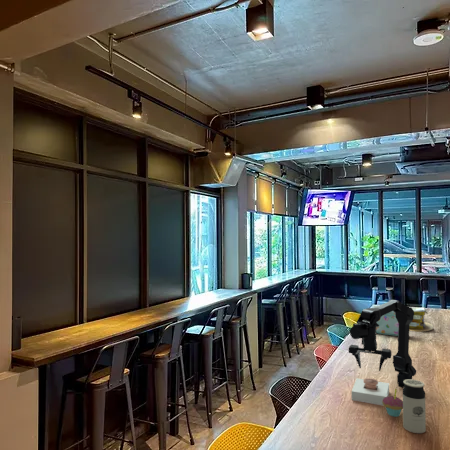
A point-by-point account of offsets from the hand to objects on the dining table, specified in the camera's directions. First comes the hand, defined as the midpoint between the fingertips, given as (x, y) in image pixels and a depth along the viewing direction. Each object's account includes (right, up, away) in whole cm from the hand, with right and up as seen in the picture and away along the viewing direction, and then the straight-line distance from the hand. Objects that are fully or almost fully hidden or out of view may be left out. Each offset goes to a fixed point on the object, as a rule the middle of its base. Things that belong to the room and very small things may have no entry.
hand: (369, 369), depth 185 cm
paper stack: (+87, -16, +133) cm, 159 cm away
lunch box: (+57, -15, +113) cm, 127 cm away
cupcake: (+3, -12, -20) cm, 23 cm away
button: (0, -9, -1) cm, 9 cm away
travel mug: (+5, -12, -32) cm, 35 cm away
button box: (0, -12, -1) cm, 12 cm away
